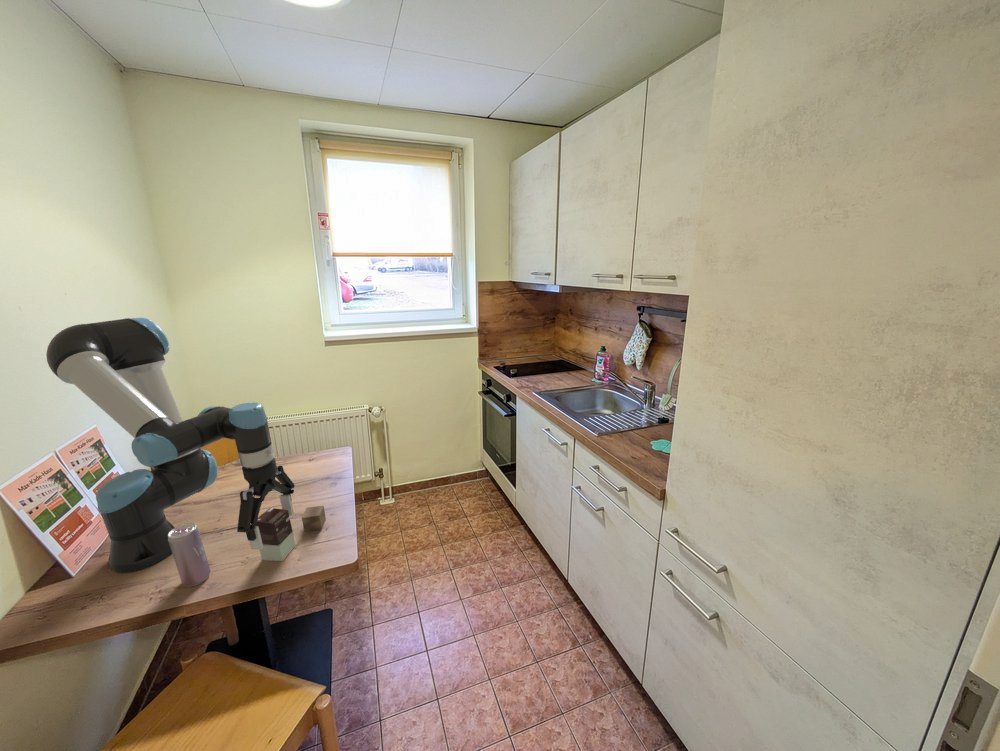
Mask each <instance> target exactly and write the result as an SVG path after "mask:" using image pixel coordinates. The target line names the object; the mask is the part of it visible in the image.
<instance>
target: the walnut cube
mask: <svg viewBox="0 0 1000 751" xmlns="http://www.w3.org/2000/svg"><path fill="white" fill-rule="evenodd" d="M326 519H327V517H326V512H325V507H324V505H318V506H309V507H308V506H307V507H306V508H305V510H304V512H303V515H302V516H301V521H302V526H303V530H304V532H311V531H319V530H323V528H324V525H325V523H326Z"/></svg>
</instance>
